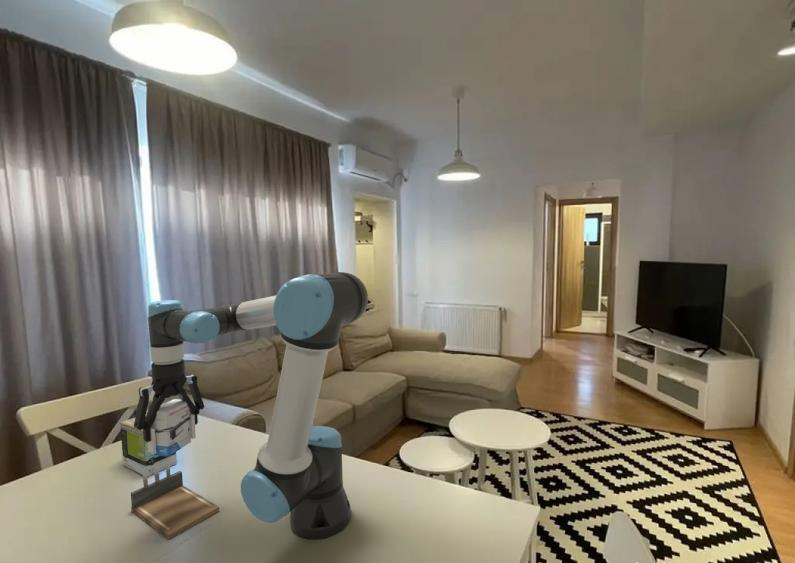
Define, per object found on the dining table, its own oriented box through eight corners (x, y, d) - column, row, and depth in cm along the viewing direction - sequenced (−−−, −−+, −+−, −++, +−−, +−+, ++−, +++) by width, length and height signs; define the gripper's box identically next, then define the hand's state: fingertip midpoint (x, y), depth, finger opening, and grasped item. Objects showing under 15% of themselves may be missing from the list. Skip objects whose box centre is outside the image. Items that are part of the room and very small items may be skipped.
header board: (219, 511, 110) (217, 477, 109) (168, 539, 99) (166, 502, 99) (180, 487, 121) (178, 457, 121) (131, 511, 111) (128, 477, 110)
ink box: (169, 457, 104) (166, 411, 103) (152, 455, 105) (149, 410, 104) (192, 441, 113) (190, 399, 112) (176, 440, 114) (174, 398, 113)
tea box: (178, 463, 136) (175, 419, 134) (146, 478, 127) (142, 431, 126) (153, 452, 144) (150, 410, 142) (122, 465, 135) (118, 421, 134)
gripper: (201, 349, 118) (205, 426, 120) (113, 368, 100) (119, 458, 102) (216, 353, 114) (219, 432, 116) (126, 374, 96) (132, 467, 98)
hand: (172, 444), depth 109 cm, fingers closed on ink box, 9 cm apart
